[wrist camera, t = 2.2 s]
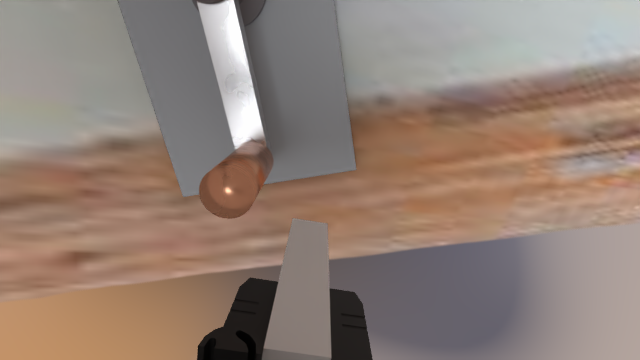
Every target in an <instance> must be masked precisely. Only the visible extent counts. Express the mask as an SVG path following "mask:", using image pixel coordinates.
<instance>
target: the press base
mask: <svg viewBox="0 0 640 360" xmlns="http://www.w3.org/2000/svg"><path fill="white" fill-rule="evenodd" d="M238 1H239V5H240V10H241V14H242V19H243V23H244V28H245V32H246V37H247V41H248V46H249V50H250V55H251V59H252V64H253V68H254V73H255V77H256V82H257V86H258V91H259V96H260V100H261V105H262V109H263V114H264V118H265V123H266V127H267V132H268V136H269V141H270V145H271V150H272V155H273V160H274V163H273V168H272V170H271V172H270V174H269V175H268V177H267V179H266V181H265V183H264V184H269V183H275V182H282V181H288V180H295V179H301V178H307V177H314V176H320V175H327V174H333V173H339V172H346V171H352V170H356V163H355V155H354V148H353V140H352V133H351V125H350V118H349V110H348V103H347V95H346V88H345V80H344V73H343V65H342V58H341V50H340V43H339V35H338V28H337V20H336V13H335V5H334V0H238ZM118 3H119V6H120V9H121V12H122V15H123V18H124V21H125V24H126V27H127V30H128V33H129V36H130V39H131V42H132V45H133V48H134V51H135V54H136V57H137V60H138V63H139V66H140V69H141V72H142V75H143V78H144V81H145V84H146V87H147V90H148V93H149V96H150V99H151V102H152V105H153V108H154V111H155V114H156V117H157V120H158V123H159V126H160V129H161V132H162V135H163V138H164V141H165V144H166V147H167V150H168V153H169V156H170V159H171V162H172V165H173V168H174V171H175V174H176V177H177V180H178V183H179V186H180V189H181V192H182V195H183V197H186V196H192V195H199V185H200V182H201V180H202V178H203V177H204V176H205V174H206V173H208V172H209V171H210V170H211V169H213V168H214V167H215V166H216V165H218V164H219V163H220V162H221V161H222V160H224V159H225V158H226V157H227V156H229V155H230V154H231V153H232V152H234V151H235V146H234V142H233V139H232V135H231V131H230V127H229V123H228V119H227V116H226V112H225V108H224V104H223V100H222V96H221V93H220V89H219V85H218V81H217V77H216V73H215V69H214V66H213V62H212V58H211V54H210V50H209V46H208V43H207V39H206V35H205V31H204V27H203V23H202V20H201V16H200V12H199V8H198V4H197V1H196V0H118Z"/></svg>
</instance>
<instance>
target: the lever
mask: <svg viewBox="0 0 640 360" xmlns="http://www.w3.org/2000/svg"><path fill="white" fill-rule="evenodd" d="M196 1H197V4H198V8H199V12H200V16H201V20H202V23H203V27H204V31H205V35H206V39H207V43H208V46H209V50H210V54H211V58H212V62H213V66H214V69H215V73H216V77H217V81H218V85H219V89H220V93H221V96H222V100H223V104H224V108H225V112H226V116H227V119H228V123H229V127H230V131H231V135H232V139H233V142H234V146H235V151H234V152H232V153H231V154H230V155H229V156H227V157H226V158H225V159H224V160H222V161H221V162H220V163H219V164H218V165H216V166H215V167H214V168H213V169H211V170H210V171H209V172H208V173H206V174H205V176H204V177H203V178H202V180H201V182H200V185H199V195H200V199H201V201H202V203H203V205H204V206H205V207H206V209H207V210H209V211H210V212H211V213H212V214H214V215H216V216H218V217H222V218H237V217H240V216H242V215H243V214H245V213H246V212H247V211H248V210H249V209H250V207H251V206H252V204H253V202H254V200H255V199H256V197H257V195H258V193H259V191H260V190H261V188H262V186H263V184H264V183H265V181H266V179H267V177H268V175H269V174H270V172H271V170H272V168H273V163H274V160H273V155H272V150H271V145H270V141H269V136H268V132H267V127H266V123H265V118H264V114H263V109H262V105H261V100H260V96H259V91H258V86H257V82H256V77H255V73H254V68H253V64H252V59H251V55H250V50H249V46H248V41H247V37H246V32H245V28H244V23H243V19H242V14H241V10H240V5H239V1H238V0H196Z"/></svg>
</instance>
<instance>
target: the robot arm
mask: <svg viewBox="0 0 640 360" xmlns="http://www.w3.org/2000/svg"><path fill="white" fill-rule="evenodd" d="M197 360H372V354H371V349H370V343H369V337H368V332H367V326H366V321H365V315H364V309H363V304H362V302H361V301H360V299H359V298H358V296H357V295H356V294H355V292H350V291H343V290H337V289H330V288H329V256H328V224H327V223H321V222H314V221H308V220H302V219H295V218H293V220H292V224H291V229H290V233H289V238H288V242H287V246H286V251H285V255H284V260H283V264H282V269H281V273H280V277H279V282H276V281H269V280H262V279H256V278H249V279H248V280H247V281H246V282H245V283H244V284H242V285H241V286H240V287H239V290H238V292H237V295H236V297H235V300H234V302H233V304H232V307H231V310H230V312H229V314H228V317H227V319H226V321H225V324H224V326H223V327H221V328H218V329H215V330H213V331H212V332H210V333H209V334H208V335H206V336H205V337H204V338H203V340H202V341H201V343H200V344H199V345H198V356H197Z"/></svg>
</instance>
